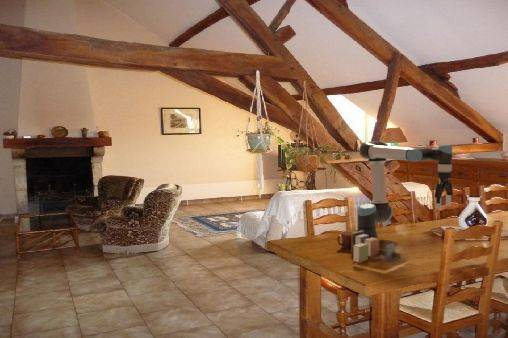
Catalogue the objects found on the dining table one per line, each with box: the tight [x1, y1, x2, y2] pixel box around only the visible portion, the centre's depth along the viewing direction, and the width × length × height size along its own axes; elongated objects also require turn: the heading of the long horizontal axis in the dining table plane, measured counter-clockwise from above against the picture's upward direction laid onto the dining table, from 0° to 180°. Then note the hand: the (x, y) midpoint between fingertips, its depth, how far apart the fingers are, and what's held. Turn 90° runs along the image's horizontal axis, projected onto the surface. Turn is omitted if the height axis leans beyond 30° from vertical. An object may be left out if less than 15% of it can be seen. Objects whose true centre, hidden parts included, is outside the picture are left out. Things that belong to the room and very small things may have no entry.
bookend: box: [384, 242, 400, 262], centre depth 252 cm, size 4×8×8 cm, turn 134°
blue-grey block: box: [355, 234, 369, 245], centre depth 266 cm, size 4×8×10 cm, turn 134°
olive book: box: [352, 243, 369, 266], centre depth 251 cm, size 4×8×10 cm, turn 134°
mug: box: [336, 231, 354, 250], centre depth 277 cm, size 12×9×10 cm
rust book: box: [364, 237, 380, 258], centre depth 261 cm, size 4×8×9 cm, turn 134°
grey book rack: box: [350, 231, 401, 262], centre depth 260 cm, size 25×11×13 cm, turn 44°
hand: (443, 207), depth 270 cm, fingers open, 13 cm apart
